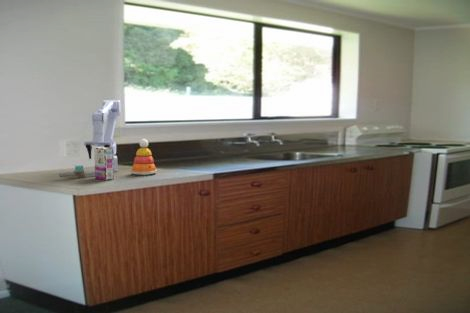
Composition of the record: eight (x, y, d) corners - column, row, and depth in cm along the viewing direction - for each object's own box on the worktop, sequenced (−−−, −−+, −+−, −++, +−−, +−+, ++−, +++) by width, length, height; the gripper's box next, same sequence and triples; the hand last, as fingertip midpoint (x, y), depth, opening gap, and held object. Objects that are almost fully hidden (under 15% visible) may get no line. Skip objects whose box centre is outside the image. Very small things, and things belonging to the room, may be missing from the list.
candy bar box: (114, 179, 251) (113, 147, 249) (105, 180, 247) (104, 148, 246) (103, 177, 259) (102, 146, 257) (94, 178, 255) (93, 147, 253)
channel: (84, 175, 264) (83, 170, 264) (84, 177, 258) (84, 172, 258) (74, 176, 263) (74, 170, 262) (74, 178, 256) (74, 172, 256)
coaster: (77, 173, 274) (77, 172, 274) (78, 175, 265) (78, 174, 265) (60, 174, 271) (60, 173, 271) (60, 176, 262) (60, 175, 262)
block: (83, 176, 263) (82, 165, 262) (83, 177, 259) (83, 166, 258) (75, 176, 261) (74, 165, 261) (75, 177, 258) (75, 166, 257)
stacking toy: (145, 176, 259) (144, 140, 257) (125, 174, 266) (124, 139, 264) (162, 173, 272) (161, 138, 269) (142, 171, 279) (141, 137, 276)
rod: (95, 176, 264) (95, 171, 264) (96, 176, 262) (95, 172, 262) (84, 176, 262) (84, 172, 262) (84, 177, 260) (84, 173, 260)
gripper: (83, 132, 259) (82, 157, 257) (111, 133, 261) (110, 158, 259) (85, 134, 266) (84, 159, 264) (112, 135, 268) (112, 159, 266)
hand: (97, 159), depth 262 cm, fingers open, 7 cm apart
